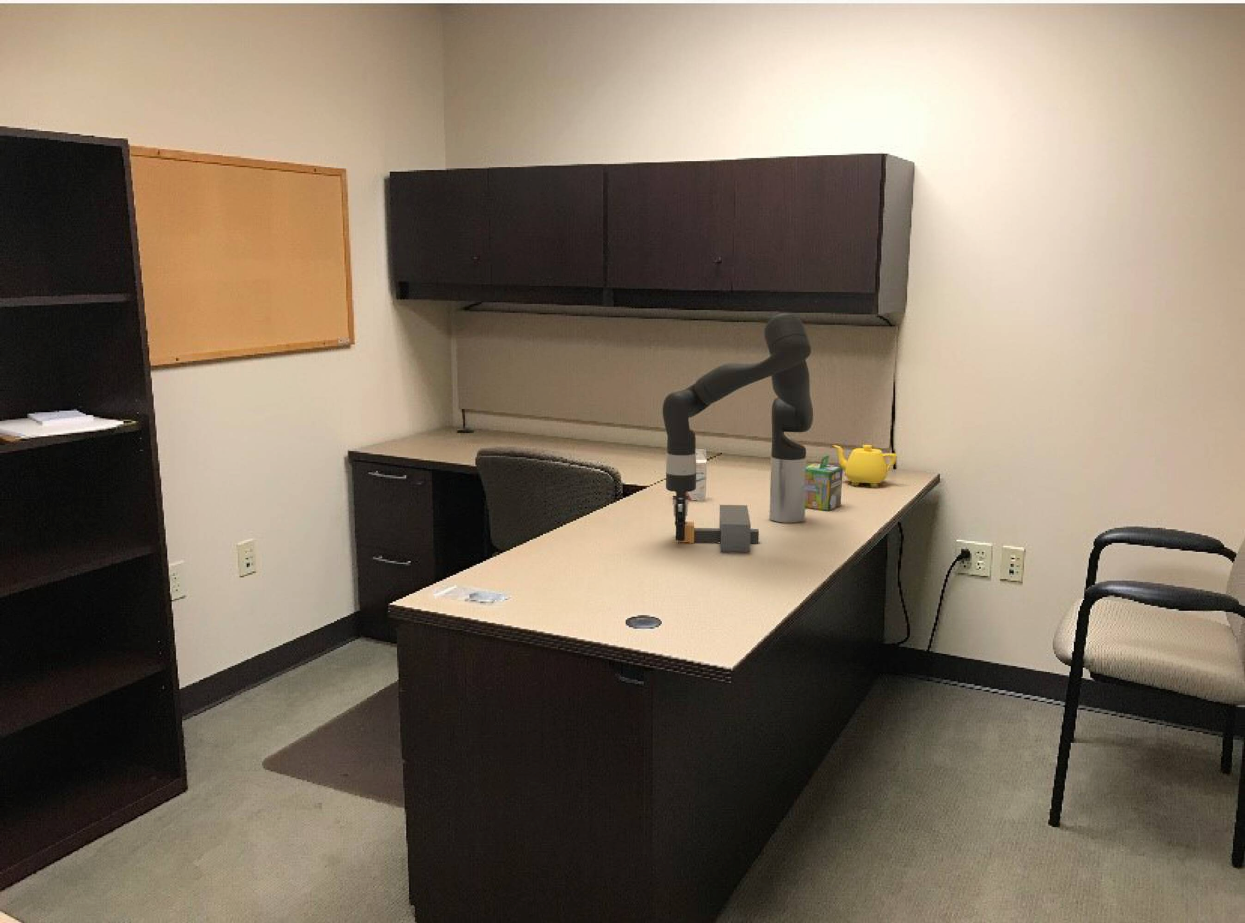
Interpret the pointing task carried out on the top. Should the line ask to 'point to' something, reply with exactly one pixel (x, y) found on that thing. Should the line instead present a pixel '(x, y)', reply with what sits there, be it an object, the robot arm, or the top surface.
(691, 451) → the robot arm
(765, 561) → the top surface
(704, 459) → the ink cartridge box
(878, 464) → the teapot
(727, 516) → the mallet head
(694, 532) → the plug
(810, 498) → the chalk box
